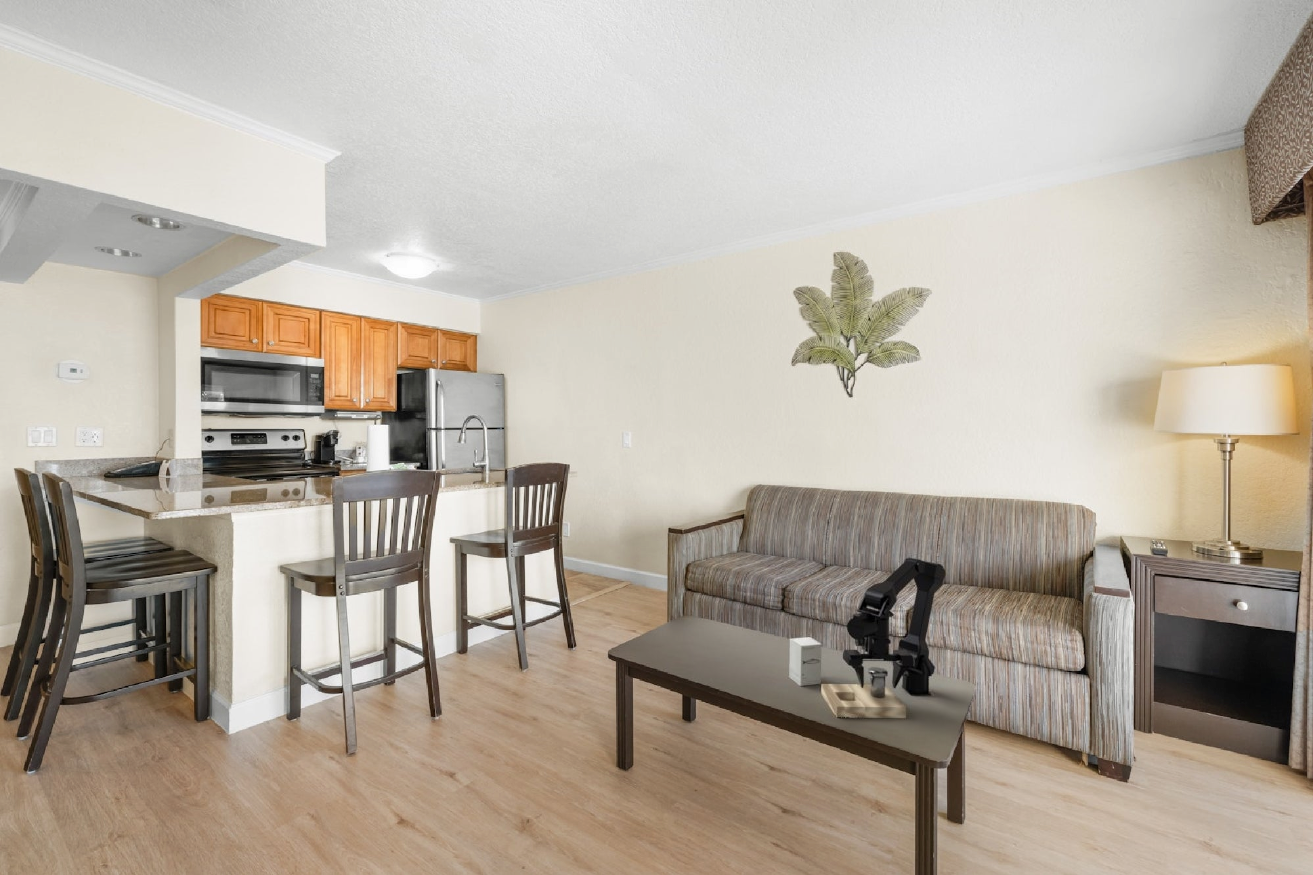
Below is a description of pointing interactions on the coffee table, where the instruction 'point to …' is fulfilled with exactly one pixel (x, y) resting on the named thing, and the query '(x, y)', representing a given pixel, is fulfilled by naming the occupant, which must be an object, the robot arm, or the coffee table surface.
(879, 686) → the flared metal knob
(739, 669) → the coffee table surface
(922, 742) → the coffee table surface
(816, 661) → the supplement box
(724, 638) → the coffee table surface
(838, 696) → the plate
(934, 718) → the coffee table surface
